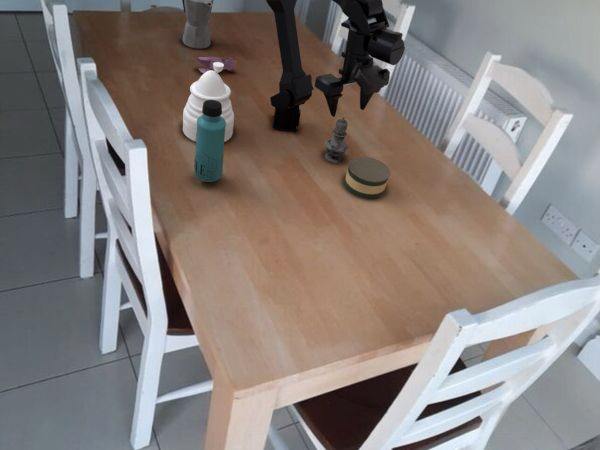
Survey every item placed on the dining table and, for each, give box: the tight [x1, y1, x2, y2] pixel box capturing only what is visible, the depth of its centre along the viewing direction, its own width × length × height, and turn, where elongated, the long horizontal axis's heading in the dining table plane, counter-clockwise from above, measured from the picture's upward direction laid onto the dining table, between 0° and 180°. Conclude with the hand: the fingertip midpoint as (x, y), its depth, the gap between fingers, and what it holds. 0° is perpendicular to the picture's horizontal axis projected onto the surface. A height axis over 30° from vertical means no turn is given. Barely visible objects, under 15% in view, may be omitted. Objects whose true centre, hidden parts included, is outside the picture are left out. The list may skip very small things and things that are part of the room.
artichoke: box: [196, 56, 238, 74], centre depth 170 cm, size 5×4×12 cm
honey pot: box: [182, 62, 235, 143], centre depth 139 cm, size 13×13×18 cm
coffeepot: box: [181, 0, 214, 50], centre depth 178 cm, size 15×9×18 cm, turn 44°
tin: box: [344, 156, 391, 199], centre depth 136 cm, size 10×10×5 cm
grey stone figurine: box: [323, 116, 349, 164], centre depth 142 cm, size 6×6×12 cm
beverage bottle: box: [193, 100, 226, 183], centre depth 123 cm, size 6×7×20 cm
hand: (347, 112), depth 137 cm, fingers open, 9 cm apart
